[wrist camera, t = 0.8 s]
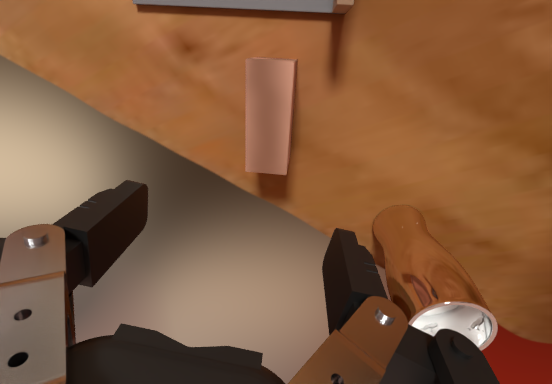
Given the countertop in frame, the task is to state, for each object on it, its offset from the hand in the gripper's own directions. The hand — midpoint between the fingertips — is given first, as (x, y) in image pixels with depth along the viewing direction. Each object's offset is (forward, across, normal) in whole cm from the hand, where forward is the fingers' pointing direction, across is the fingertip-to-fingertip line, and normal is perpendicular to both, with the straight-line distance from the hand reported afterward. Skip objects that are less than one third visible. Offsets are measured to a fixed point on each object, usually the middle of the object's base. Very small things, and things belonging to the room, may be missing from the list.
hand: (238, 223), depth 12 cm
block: (+21, 0, -1) cm, 21 cm away
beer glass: (+21, -18, +9) cm, 29 cm away
